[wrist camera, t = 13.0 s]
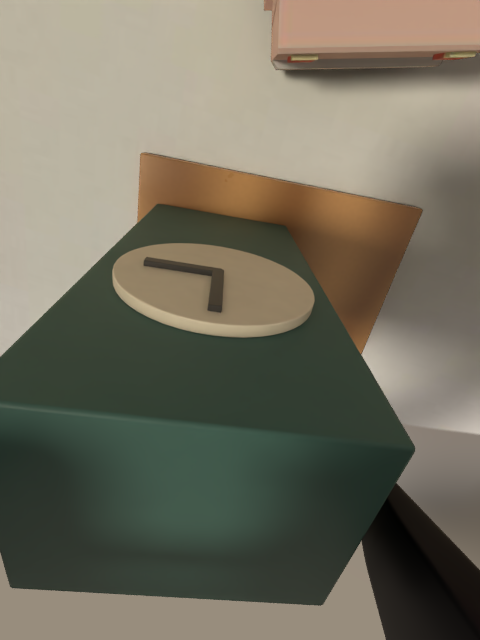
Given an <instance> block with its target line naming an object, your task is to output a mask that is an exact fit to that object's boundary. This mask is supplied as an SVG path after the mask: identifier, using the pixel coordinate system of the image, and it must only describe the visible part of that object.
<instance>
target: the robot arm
mask: <svg viewBox="0 0 480 640" xmlns="http://www.w3.org/2000/svg"><path fill="white" fill-rule="evenodd" d="M362 545H363V551H364V557H365V562H366V566H367V570H368V574H369V578H370V581H371V585H372V589H373V593H374V596H375V600H376V604H377V608H378V611H379V615H380V619H381V622H382V626H383V630H384V634H385V637H386V640H480V570H479V569H478V568H477V567H476V566H475V565H474V564H473V562H471V560H470V559H469V558H468V557H467V556H466V555H465V554H464V553H463V552H462V551H461V550H460V549H459V548H458V547H457V546H456V545H455V544H454V543H453V542H452V541H451V540H450V538H449V537H447V536H446V534H445V533H444V532H443V531H442V530H441V529H440V528H439V527H438V526H437V525H436V524H435V523H434V522H433V521H432V520H431V519H430V518H429V517H428V516H427V515H426V514H425V513H424V512H423V510H422V509H421V508H420V507H419V506H418V505H417V504H416V503H415V502H414V501H413V500H412V499H411V498H410V497H409V496H408V495H407V494H406V493H405V492H404V491H403V490H402V488H401V487H400V486H399V485H398V484H397V483H396V484H395V485H394V487H393V489H392V490H391V492H390V494H389V495H388V497H387V499H386V500H385V502H384V504H383V505H382V507H381V509H380V510H379V512H378V514H377V515H376V517H375V519H374V520H373V522H372V524H371V525H370V527H369V529H368V530H367V532H366V534H365V535H364V537H363V539H362Z"/></svg>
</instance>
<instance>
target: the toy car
mask: <svg viewBox="0 0 480 640" xmlns="http://www.w3.org/2000/svg"><path fill="white" fill-rule="evenodd" d="M264 10H272V43H271V62H272V64H273V66H274V68H275V69H276V70H304V69H357V68H410V67H434V66H439V65H440V63H441V62H442V61H443V60H456V59H462V58H469V57H475V55H476V53H480V0H264Z"/></svg>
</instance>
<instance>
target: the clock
mask: <svg viewBox="0 0 480 640" xmlns="http://www.w3.org/2000/svg"><path fill="white" fill-rule="evenodd" d="M414 452H415V446H414V444H413V443H412V441H411V439H410V437H409V436H408V434H407V432H406V431H405V429H404V428H403V425H402V424H401V422H400V420H399V419H398V417H397V415H396V414H395V412H394V410H393V408H392V407H391V405H390V403H389V402H388V400H387V398H386V396H385V395H384V393H383V391H382V390H381V388H380V386H379V384H378V383H377V381H376V379H375V378H374V376H373V374H372V373H371V371H370V369H369V367H368V366H367V364H366V362H365V361H364V359H363V357H362V355H361V354H360V352H359V350H358V349H357V347H356V345H355V343H354V342H353V340H352V338H351V337H350V335H349V333H348V332H347V330H346V328H345V326H344V325H343V323H342V321H341V320H340V318H339V316H338V314H337V313H336V311H335V309H334V308H333V306H332V304H331V302H330V301H329V299H328V297H327V296H326V294H325V292H324V291H323V289H322V287H321V285H320V284H319V282H318V280H317V279H316V277H315V275H314V273H313V272H312V270H311V268H310V267H309V265H308V263H307V261H306V260H305V258H304V256H303V255H302V253H301V251H300V249H299V248H298V246H297V244H296V243H295V241H294V239H293V238H292V236H291V234H290V232H289V231H288V229H287V227H286V226H284V225H278V224H272V223H266V222H261V221H255V220H249V219H244V218H238V217H232V216H226V215H221V214H215V213H209V212H203V211H198V210H192V209H186V208H180V207H175V206H169V205H163V204H156V205H155V206H154V207H153V208H152V209H151V210H150V211H149V212H148V213H147V214H146V215H145V216H144V217H143V218H142V219H141V220H140V221H139V222H138V223H137V224H136V225H135V226H134V227H133V228H132V229H131V230H130V231H129V232H128V233H127V234H126V235H125V236H124V237H123V238H122V239H121V240H120V241H119V242H118V243H117V244H115V245H114V246H113V247H112V248H111V249H110V250H109V251H108V252H107V253H106V254H105V255H104V256H103V257H102V258H101V259H100V260H99V261H98V262H97V263H96V264H95V265H94V266H93V267H92V268H91V269H90V270H89V271H88V272H87V273H86V274H85V275H84V276H83V277H82V278H81V279H80V280H79V281H78V282H77V283H76V284H75V285H73V286H72V287H71V288H70V289H69V290H68V291H67V292H66V293H65V294H64V295H63V296H62V297H61V298H60V299H59V300H58V301H57V302H56V303H55V304H54V305H53V306H52V307H51V308H50V309H49V310H48V311H47V312H46V313H45V314H44V315H43V316H42V317H41V318H40V319H39V320H38V321H37V322H36V323H35V324H34V325H32V326H31V327H30V328H29V329H28V330H27V331H26V332H25V333H24V334H23V335H22V336H21V337H20V338H19V339H18V340H17V341H16V342H15V343H14V344H13V345H12V346H11V347H10V348H9V349H8V350H7V351H6V352H5V353H4V354H3V355H2V356H1V357H0V553H1V556H2V559H3V563H4V567H5V570H6V574H7V577H8V581H9V584H10V587H12V588H21V589H38V590H56V591H57V590H58V591H74V592H93V593H109V594H126V595H145V596H162V597H179V598H197V599H214V600H232V601H250V602H268V603H285V604H303V605H323V603H324V602H325V600H326V599H327V597H328V595H329V594H330V592H331V590H332V588H333V587H334V585H335V583H336V582H337V580H338V579H339V577H340V575H341V574H342V572H343V570H344V569H345V567H346V565H347V564H348V562H349V560H350V559H351V557H352V555H353V553H354V552H355V550H356V548H357V547H358V545H359V544H360V542H361V540H362V539H363V537H364V535H365V534H366V532H367V530H368V529H369V527H370V525H371V524H372V522H373V520H374V519H375V517H376V515H377V514H378V512H379V510H380V509H381V507H382V505H383V504H384V502H385V500H386V499H387V497H388V495H389V494H390V492H391V490H392V489H393V487H394V485H395V484H396V482H397V480H398V478H399V477H400V476H401V474H402V472H403V471H404V469H405V467H406V465H407V464H408V462H409V460H410V459H411V457H412V455H413V454H414Z"/></svg>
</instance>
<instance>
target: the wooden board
mask: <svg viewBox="0 0 480 640" xmlns="http://www.w3.org/2000/svg"><path fill="white" fill-rule="evenodd" d="M156 204H163V205H169V206H175V207H180V208H186V209H192V210H198V211H203V212H209V213H215V214H221V215H226V216H232V217H238V218H244V219H249V220H255V221H261V222H266V223H272V224H278V225H284V226H286V227H287V229H288V231H289V232H290V234H291V236H292V238H293V239H294V241H295V243H296V244H297V246H298V248H299V249H300V251H301V253H302V255H303V256H304V258H305V260H306V261H307V263H308V265H309V267H310V268H311V270H312V272H313V273H314V275H315V277H316V279H317V280H318V282H319V284H320V285H321V287H322V289H323V291H324V292H325V294H326V296H327V297H328V299H329V301H330V302H331V304H332V306H333V308H334V309H335V311H336V313H337V314H338V316H339V318H340V320H341V321H342V323H343V325H344V326H345V328H346V330H347V332H348V333H349V335H350V337H351V338H352V340H353V342H354V343H355V345H356V347H357V349H358V350H359V352H360V354H361V353H362V351H363V349H364V346H365V344H366V342H367V339H368V337H369V335H370V332H371V330H372V328H373V325H374V323H375V321H376V318H377V316H378V314H379V311H380V309H381V307H382V304H383V302H384V300H385V297H386V295H387V293H388V290H389V288H390V286H391V283H392V281H393V279H394V276H395V274H396V272H397V269H398V267H399V265H400V262H401V260H402V258H403V255H404V253H405V251H406V248H407V246H408V244H409V241H410V239H411V237H412V234H413V232H414V230H415V227H416V225H417V223H418V220H419V218H420V216H421V213H422V209H420V208H417V207H412V206H407V205H402V204H397V203H392V202H387V201H382V200H378V199H373V198H368V197H363V196H358V195H353V194H348V193H343V192H338V191H333V190H328V189H323V188H318V187H313V186H308V185H303V184H298V183H293V182H288V181H283V180H278V179H273V178H268V177H263V176H258V175H253V174H248V173H243V172H239V171H234V170H229V169H224V168H219V167H214V166H209V165H204V164H199V163H194V162H189V161H184V160H179V159H174V158H169V157H164V156H159V155H154V154H149V153H141V154H140V176H139V198H138V221H137V223H138V222H139V221H140V220H141V219H142V218H143V217H144V216H145V215H146V214H147V213H148V212H149V211H150V210H151V209H152V208H153V207H154V206H155V205H156Z"/></svg>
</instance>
